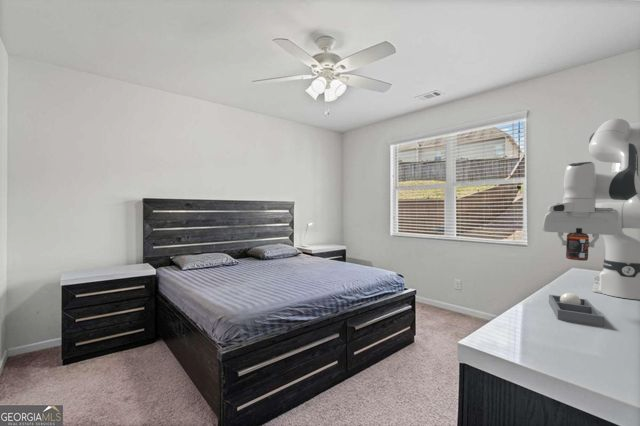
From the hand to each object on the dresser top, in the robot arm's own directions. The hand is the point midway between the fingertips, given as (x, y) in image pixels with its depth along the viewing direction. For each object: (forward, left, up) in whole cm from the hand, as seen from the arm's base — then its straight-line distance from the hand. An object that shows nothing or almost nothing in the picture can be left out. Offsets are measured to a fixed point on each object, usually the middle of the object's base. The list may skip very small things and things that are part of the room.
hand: (577, 246), depth 106 cm
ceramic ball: (+4, -2, -22) cm, 22 cm away
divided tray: (+9, -2, -22) cm, 24 cm away
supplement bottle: (0, 0, -5) cm, 5 cm away
